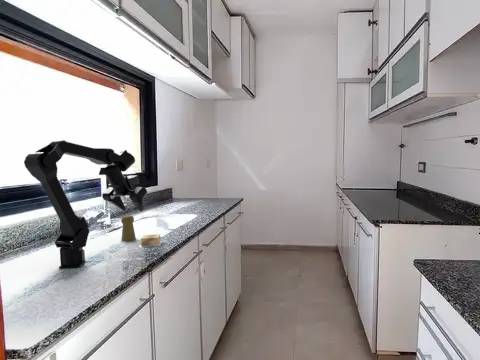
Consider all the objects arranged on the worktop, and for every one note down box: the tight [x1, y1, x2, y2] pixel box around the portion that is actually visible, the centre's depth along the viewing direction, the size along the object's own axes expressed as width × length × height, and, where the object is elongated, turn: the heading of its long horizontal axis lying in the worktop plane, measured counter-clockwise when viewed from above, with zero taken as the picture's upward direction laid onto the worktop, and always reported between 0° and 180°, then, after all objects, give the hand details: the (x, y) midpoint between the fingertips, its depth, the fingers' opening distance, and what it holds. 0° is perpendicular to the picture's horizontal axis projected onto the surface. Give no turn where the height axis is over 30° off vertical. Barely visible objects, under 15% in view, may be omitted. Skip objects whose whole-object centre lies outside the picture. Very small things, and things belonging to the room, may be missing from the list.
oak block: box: [140, 233, 162, 247], centre depth 146 cm, size 6×6×3 cm
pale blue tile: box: [138, 240, 163, 248], centre depth 146 cm, size 12×11×1 cm
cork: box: [120, 214, 137, 243], centre depth 154 cm, size 6×6×11 cm
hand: (133, 210), depth 146 cm, fingers open, 9 cm apart
